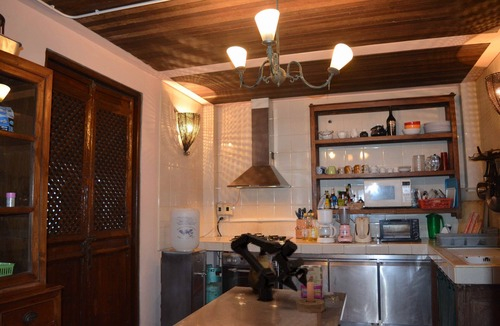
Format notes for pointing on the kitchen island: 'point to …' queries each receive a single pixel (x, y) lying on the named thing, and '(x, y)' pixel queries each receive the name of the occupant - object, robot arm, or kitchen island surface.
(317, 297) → the candy bar box
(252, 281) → the ceramic jug
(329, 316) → the kitchen island surface
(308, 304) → the wooden bowl
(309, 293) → the dowel
